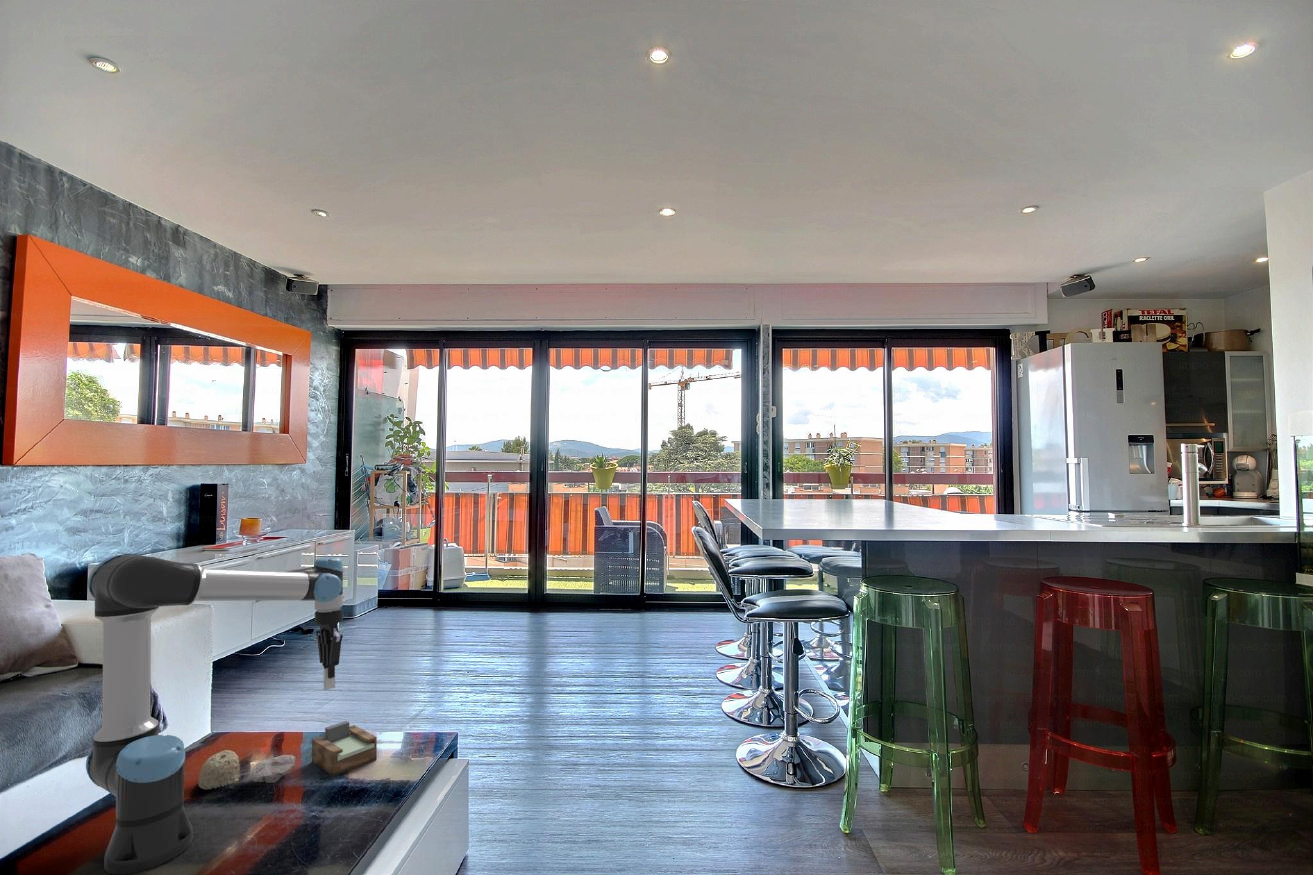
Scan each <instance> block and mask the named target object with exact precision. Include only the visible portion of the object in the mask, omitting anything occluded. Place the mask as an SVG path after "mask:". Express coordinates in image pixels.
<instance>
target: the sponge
mask: <svg viewBox="0 0 1313 875" xmlns="http://www.w3.org/2000/svg"><path fill="white" fill-rule="evenodd" d="M200 768H201V769H200V771H199V772H198V776H199V777H198V787H199V788H200V789H203V790H209V789H210V790H213V789H212V788H214V789H217V787H218V788H221V787H220V786H222V787H225V786H228V785H227V784H229V785H231V784H233V783H236V782H237V780H238V779H239V778H240V760H239V755H237V753H236V752H235V751H232V750H230V749H227V750H222V751H220V752H217V753H215V754H212V755H211V756H210V757H209V758H207V759H206V760H205V761H204V763H203V764H202V765H201V767H200ZM236 779H237V780H236ZM230 783H231V784H230ZM224 785H225V786H224Z"/></svg>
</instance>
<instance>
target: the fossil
mask: <svg viewBox="0 0 1313 875" xmlns="http://www.w3.org/2000/svg"><path fill="white" fill-rule="evenodd" d="M295 762H296V756H294V755H293V754H281V755H280V756H279V755H278V756H274V757H273V758H269V759H265V760H261V761H259V762H257V763H256V764H255V765H254V766H253V767H252V768H251V769H250V771H249V772H248V775H249V779H250V780H251V781H253V782H255V783H262V782H263V783H264V782H265V783H266V784H272V783H277V781H280V779H281V778H282V777H283V776H285V775H287V774H289V772H290V771H291V770H292V769H293V768H295V766H296V763H295Z"/></svg>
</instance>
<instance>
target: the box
mask: <svg viewBox="0 0 1313 875" xmlns="http://www.w3.org/2000/svg"><path fill="white" fill-rule="evenodd" d="M349 733H351V734H353V735H355V736H357V737H359V738H361V739H362V740H364V741H366V742H368V743H369V742H372V743H374V747H373V748H371V749H368V750H365V751H363V752H360V753H357V754H355V755H352V756H349V757H347V758H344V759H341V760H339V761H337V760H336V755H337V754H339V753H342V752H343V749H341V748H340V747H338V746H336V745H335V744H333V743H331V742H330V741H328V740H326V739H325V737H323V736H317V737H314V738H311V762H312V763H313V764H315V765H316V766H317V767H319V768H320V769H321V770H323V771H324V772H326V773H327V774H329V775H330V776H333V777H335V776H338V775H340V774H343V773H346V772H349V771H351V770H353V769H356V768H358V767H361V766H364V765H366V764H369V763H372V762H374V761H377V758H378V757H377V756H378V755H377V752H378V751H377V749H378V748H377V747H378V746H377V744H378V742H377V740H378V739H377V736H376V735H373V734H372V733H370V732H368V731H366V730H364V729H362V728H360V727H359V726H357V725H349Z"/></svg>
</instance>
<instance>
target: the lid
mask: <svg viewBox="0 0 1313 875" xmlns="http://www.w3.org/2000/svg"><path fill="white" fill-rule="evenodd" d="M349 727H350V721H347V720H345V721H341V722H339V723H336V724H332V725H330V726H325V728H324V731H325V732H324V738H325V739H326V740H328V741H330V742H331V743H333V744H335V745H336V746H338V747H340V748H341V749H343V752H342V753H339V754H337V755H336V760H337V761H339V760H341V759H344V758H347V757H349V756H352V755H355V754H357V753H360V752H363V751H365V750H368V749H371V748H373V747H374V743H372V742H369V743H368V742H366V741H364V740H362V739H361V738H359V737H357V736H355V735H353V734H351V733H350V732H349Z"/></svg>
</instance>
